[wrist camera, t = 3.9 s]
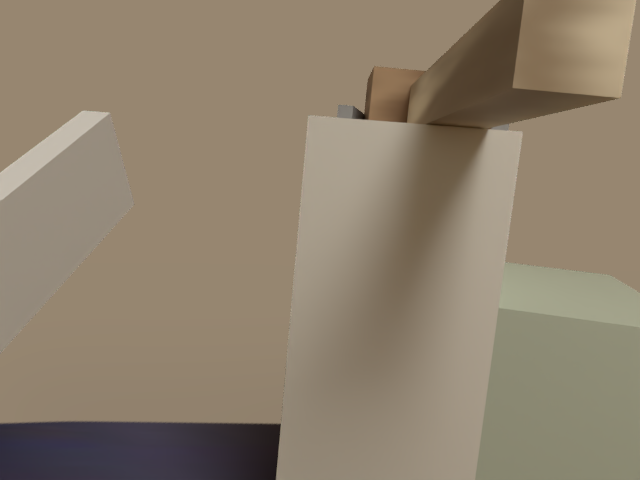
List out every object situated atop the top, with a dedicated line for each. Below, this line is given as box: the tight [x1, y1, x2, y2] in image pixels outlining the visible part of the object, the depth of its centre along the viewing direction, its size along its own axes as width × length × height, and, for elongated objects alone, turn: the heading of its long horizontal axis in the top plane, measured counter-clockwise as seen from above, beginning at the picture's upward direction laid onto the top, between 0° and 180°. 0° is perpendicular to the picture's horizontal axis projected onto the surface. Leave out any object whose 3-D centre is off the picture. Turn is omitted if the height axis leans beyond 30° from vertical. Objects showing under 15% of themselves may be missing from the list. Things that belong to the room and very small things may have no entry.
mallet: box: [364, 0, 636, 129], centre depth 29 cm, size 8×28×4 cm, turn 179°
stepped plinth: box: [276, 105, 640, 480], centre depth 39 cm, size 21×18×30 cm
